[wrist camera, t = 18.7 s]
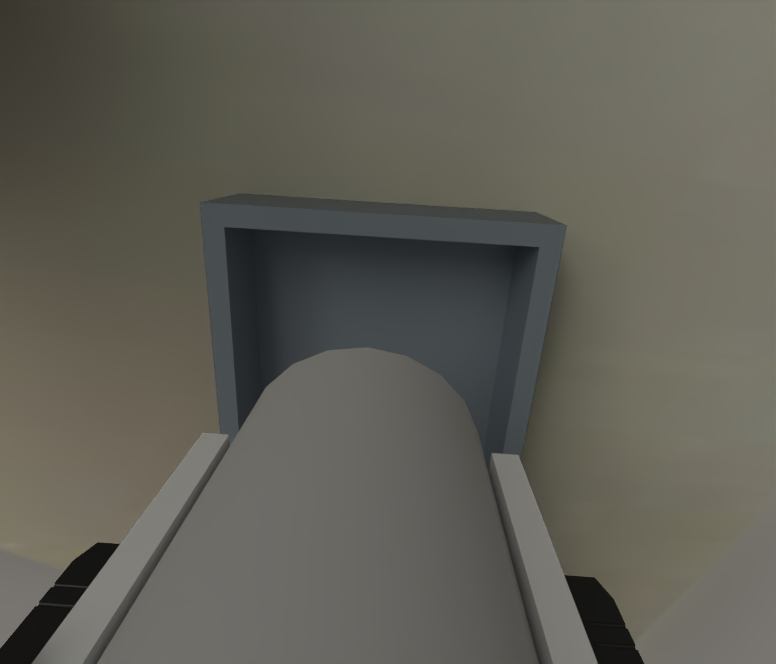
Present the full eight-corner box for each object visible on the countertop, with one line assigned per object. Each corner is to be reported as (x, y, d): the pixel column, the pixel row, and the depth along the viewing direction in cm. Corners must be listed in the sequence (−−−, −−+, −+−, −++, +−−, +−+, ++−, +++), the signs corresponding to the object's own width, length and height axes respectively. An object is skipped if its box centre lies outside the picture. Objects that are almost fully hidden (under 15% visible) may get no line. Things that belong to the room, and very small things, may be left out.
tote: (238, 193, 25) (199, 202, 20) (535, 212, 24) (566, 225, 20) (258, 535, 33) (234, 597, 29) (477, 551, 33) (489, 616, 28)
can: (344, 288, 14) (58, 891, 2) (522, 428, 15) (861, 1208, 4) (213, 447, 16) (-255, 1151, 5) (380, 556, 17) (334, 1286, 6)
